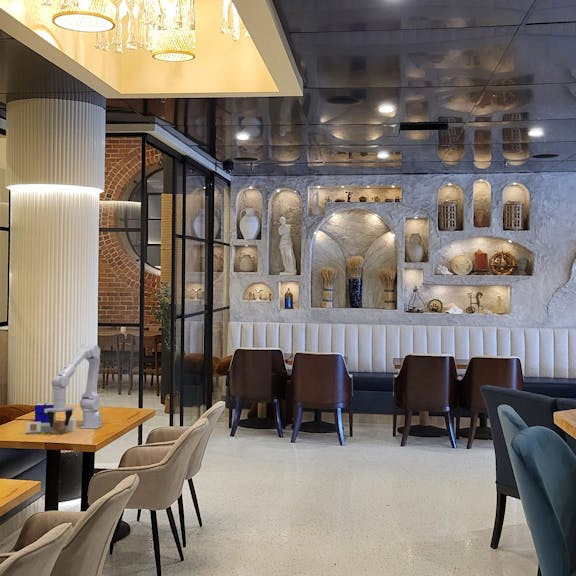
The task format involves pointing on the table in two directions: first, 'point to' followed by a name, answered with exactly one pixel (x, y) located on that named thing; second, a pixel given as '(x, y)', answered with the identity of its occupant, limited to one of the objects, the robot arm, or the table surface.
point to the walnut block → (59, 427)
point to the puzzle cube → (40, 414)
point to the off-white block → (71, 424)
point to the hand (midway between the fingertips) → (59, 426)
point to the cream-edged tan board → (33, 427)
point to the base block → (46, 427)
